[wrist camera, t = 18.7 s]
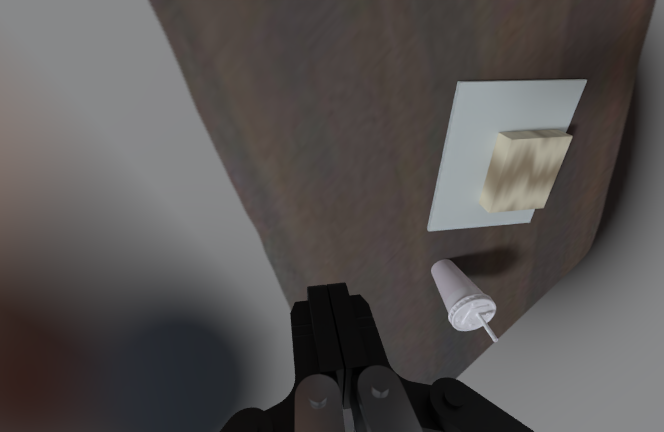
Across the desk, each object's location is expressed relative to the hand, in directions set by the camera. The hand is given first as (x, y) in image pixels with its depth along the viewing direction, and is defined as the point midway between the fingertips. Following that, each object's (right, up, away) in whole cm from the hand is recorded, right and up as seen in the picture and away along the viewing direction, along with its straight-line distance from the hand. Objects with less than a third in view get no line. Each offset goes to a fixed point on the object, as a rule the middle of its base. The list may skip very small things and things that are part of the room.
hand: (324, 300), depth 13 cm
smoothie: (+18, -5, +39) cm, 44 cm away
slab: (+21, +9, +29) cm, 37 cm away
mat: (+22, +11, +30) cm, 39 cm away
